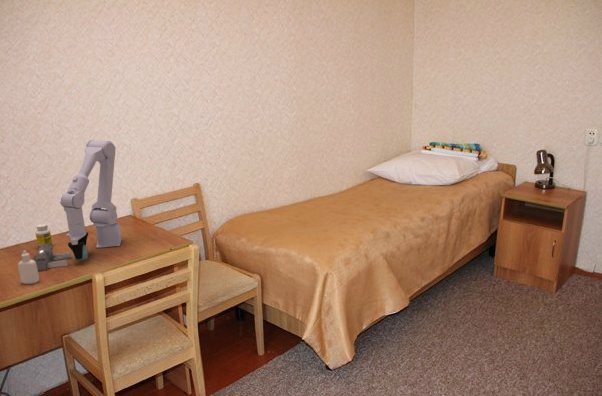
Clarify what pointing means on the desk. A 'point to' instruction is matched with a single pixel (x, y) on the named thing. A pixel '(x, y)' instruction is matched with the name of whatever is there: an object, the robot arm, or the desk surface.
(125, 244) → the desk surface
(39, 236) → the supplement bottle
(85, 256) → the teal cylinder
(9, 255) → the desk surface
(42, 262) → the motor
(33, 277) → the eye dropper bottle
